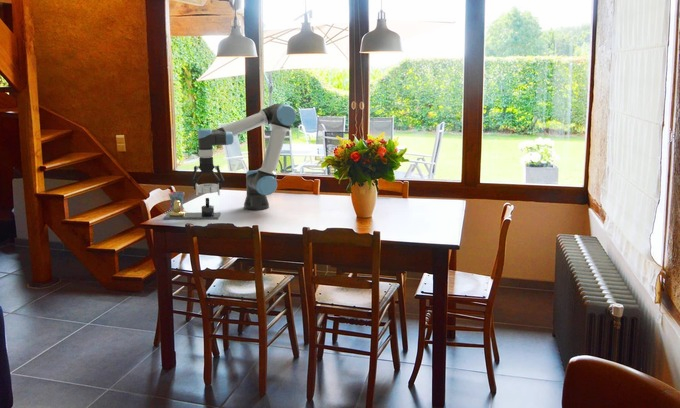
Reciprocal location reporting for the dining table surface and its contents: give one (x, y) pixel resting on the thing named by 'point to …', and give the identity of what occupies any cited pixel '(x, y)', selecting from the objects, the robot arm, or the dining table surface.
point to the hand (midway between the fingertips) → (208, 195)
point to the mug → (174, 197)
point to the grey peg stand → (180, 214)
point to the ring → (207, 188)
